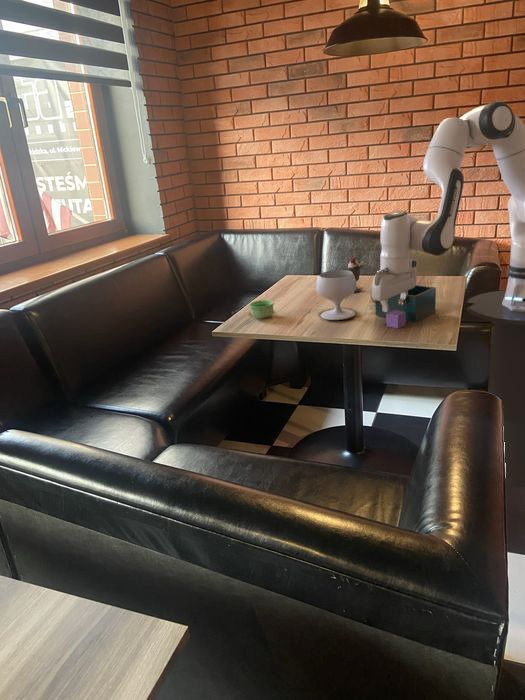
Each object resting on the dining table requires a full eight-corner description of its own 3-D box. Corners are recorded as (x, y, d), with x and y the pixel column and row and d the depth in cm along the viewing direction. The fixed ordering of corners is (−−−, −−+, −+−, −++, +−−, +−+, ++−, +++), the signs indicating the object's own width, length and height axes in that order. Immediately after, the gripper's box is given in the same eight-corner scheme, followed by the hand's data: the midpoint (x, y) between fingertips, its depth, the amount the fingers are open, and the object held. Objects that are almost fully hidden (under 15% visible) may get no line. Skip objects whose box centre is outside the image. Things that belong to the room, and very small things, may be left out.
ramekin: (278, 311, 200) (277, 299, 199) (269, 318, 193) (268, 307, 191) (256, 310, 204) (255, 299, 202) (246, 318, 196) (245, 306, 195)
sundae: (350, 293, 215) (348, 256, 209) (344, 290, 221) (342, 254, 215) (365, 290, 216) (364, 253, 211) (358, 287, 222) (357, 251, 217)
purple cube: (405, 324, 174) (405, 311, 172) (398, 328, 171) (398, 315, 169) (393, 322, 177) (393, 309, 175) (386, 326, 174) (386, 313, 172)
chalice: (326, 309, 198) (324, 269, 193) (363, 310, 191) (361, 269, 186) (312, 320, 187) (308, 278, 181) (350, 322, 180) (348, 279, 175)
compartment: (435, 312, 183) (436, 287, 180) (415, 322, 175) (416, 296, 172) (395, 306, 193) (395, 282, 190) (375, 315, 186) (375, 290, 182)
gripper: (384, 273, 158) (383, 317, 163) (420, 260, 171) (419, 301, 176) (366, 270, 163) (366, 314, 167) (403, 258, 175) (402, 299, 180)
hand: (394, 307), depth 172 cm, fingers open, 8 cm apart
